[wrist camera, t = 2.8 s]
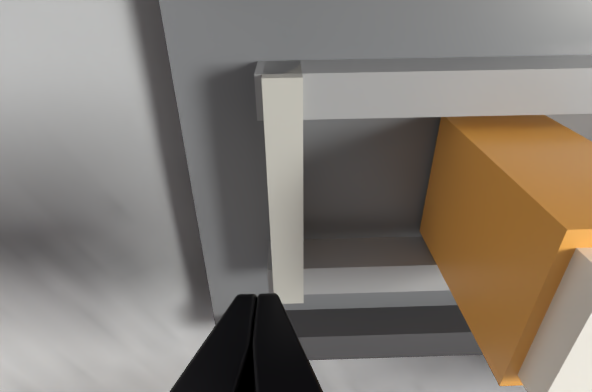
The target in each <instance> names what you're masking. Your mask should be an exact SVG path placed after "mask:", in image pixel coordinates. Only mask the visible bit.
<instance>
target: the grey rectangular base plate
mask: <svg viewBox="0 0 592 392" xmlns="http://www.w3.org/2000/svg"><path fill="white" fill-rule="evenodd" d="M285 311H286V313H287V315H288V317H289V319H290V322H291V324H292V326H293V328H294V330H295V332H296V335H297V337H298V339H299V341H300V343H301V345H302V347H303V350H304V352H305V354H306V356H307V358H308V360H327V359H358V358H389V357H420V356H451V355H482V354H483V353H482V351H481V349H480V347H479V345H478V344H477V342H476V340H475V338H474V336H473V334H472V332H471V330H470V328H469V326H468V324H467V322H466V320H465V318H464V316H463V314H462V313H461V311H460V309H459V307H458V305H445V306H411V307H378V308H345V309H311V310H285Z"/></svg>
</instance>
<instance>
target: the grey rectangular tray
mask: <svg viewBox="0 0 592 392" xmlns="http://www.w3.org/2000/svg"><path fill="white" fill-rule="evenodd" d="M159 5H160V11H161V16H162V22H163V28H164V33H165V39H166V45H167V51H168V56H169V62H170V68H171V73H172V79H173V85H174V91H175V96H176V102H177V108H178V113H179V119H180V125H181V131H182V136H183V142H184V148H185V153H186V159H187V165H188V171H189V176H190V182H191V188H192V193H193V199H194V205H195V210H196V216H197V222H198V228H199V233H200V239H201V245H202V250H203V256H204V262H205V268H206V273H207V279H208V285H209V290H210V296H211V302H212V308H213V313H214V319H215V325H216V324H217V323H218V321H219V320H220V318H221V317H222V315H223V314H224V313H225V311H226V310H227V308H228V307H229V305H230V304H231V302H232V301H233V300H234V298H235V297H236V296H237V295H239V294H256V295H257V296H258V295H259V294H262V293H276V294H277V295H278V296H279V298H280V300H281V302H282V304H283V307H284V309H285V310H311V309H345V308H378V307H411V306H445V305H457V303H456V301H455V299H454V297H453V295H452V293H451V291H450V289H449V287H448V285H447V283H446V282H445V280H444V278H443V276H442V274H441V272H440V270H439V268H438V266H437V264H436V262H435V260H434V258H433V256H432V254H431V252H430V251H429V249H428V247H427V245H426V243H425V241H424V239H423V237H422V235H421V233H420V231H419V230H420V225H421V220H422V215H423V209H424V204H425V199H426V194H427V188H428V183H429V178H430V172H431V167H432V162H433V157H434V151H435V146H436V141H437V136H438V130H439V125H440V120H441V117H460V116H508V115H546V116H547V117H549V118H551V119H553V120H555V121H556V122H558V123H560V124H562V125H563V126H565V127H567V128H569V129H571V130H572V131H574V132H576V133H578V134H579V135H581V136H583V137H585V138H586V139H588V140H590V141H592V0H159Z"/></svg>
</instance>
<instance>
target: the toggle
mask: <svg viewBox="0 0 592 392" xmlns="http://www.w3.org/2000/svg"><path fill="white" fill-rule="evenodd" d="M419 231H420V233H421V235H422V237H423V239H424V241H425V243H426V245H427V247H428V249H429V251H430V252H431V254H432V256H433V258H434V260H435V262H436V264H437V266H438V268H439V270H440V272H441V274H442V276H443V278H444V280H445V282H446V283H447V285H448V287H449V289H450V291H451V293H452V295H453V297H454V299H455V301H456V303H457V305H458V307H459V309H460V311H461V313H462V314H463V316H464V318H465V320H466V322H467V324H468V326H469V328H470V330H471V332H472V334H473V336H474V338H475V340H476V342H477V344H478V345H479V347H480V349H481V351H482V353H483V355H484V357H485V359H486V361H487V363H488V365H489V367H490V369H491V371H492V373H493V375H494V376H495V378H496V380H497V382H498V384H499V386H516V385H524V387H525V389H526V391H527V392H592V141H590V140H588V139H586V138H585V137H583V136H581V135H579V134H578V133H576V132H574V131H572V130H571V129H569V128H567V127H565V126H563V125H562V124H560V123H558V122H556V121H555V120H553V119H551V118H549V117H547V116H546V115H508V116H460V117H441V120H440V125H439V130H438V136H437V141H436V146H435V151H434V157H433V162H432V167H431V172H430V178H429V183H428V188H427V194H426V199H425V204H424V209H423V215H422V220H421V225H420V230H419Z"/></svg>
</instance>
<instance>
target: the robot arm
mask: <svg viewBox="0 0 592 392" xmlns="http://www.w3.org/2000/svg"><path fill="white" fill-rule="evenodd" d="M170 392H323V391H322V388H321V386H320V384H319V382H318V380H317V378H316V375H315V373H314V371H313V369H312V367H311V365H310V363H309V360H308V358H307V356H306V354H305V352H304V350H303V347H302V345H301V343H300V341H299V339H298V337H297V335H296V332H295V330H294V328H293V326H292V324H291V322H290V319H289V317H288V315H287V313H286V311H285V309H284V307H283V304H282V302H281V300H280V298H279V296H278V295H277V294H276V293H262V294H259V295H258V296H257V295H256V294H239V295H237V296H236V297H235V298H234V300H233V301H232V302H231V304H230V305H229V307H228V308H227V310H226V311H225V313H224V314H223V315H222V317H221V318H220V320H219V321H218V323H217V324H216V326H215V327H214V328H213V330H212V331H211V333H210V334H209V336H208V337H207V339H206V340H205V341H204V343H203V344H202V346H201V347H200V349H199V350H198V351H197V353H196V354H195V356H194V357H193V359H192V360H191V362H190V363H189V364H188V366H187V367H186V369H185V370H184V372H183V373H182V375H181V376H180V377H179V379H178V380H177V382H176V383H175V385H174V386H173V387H172V389H171V390H170Z"/></svg>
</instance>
